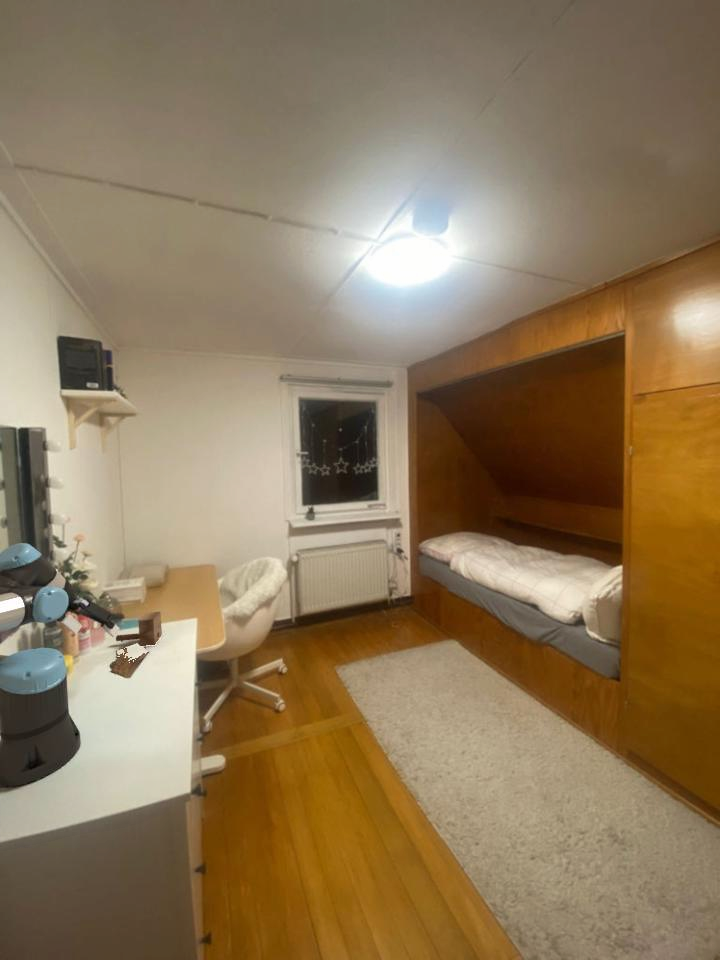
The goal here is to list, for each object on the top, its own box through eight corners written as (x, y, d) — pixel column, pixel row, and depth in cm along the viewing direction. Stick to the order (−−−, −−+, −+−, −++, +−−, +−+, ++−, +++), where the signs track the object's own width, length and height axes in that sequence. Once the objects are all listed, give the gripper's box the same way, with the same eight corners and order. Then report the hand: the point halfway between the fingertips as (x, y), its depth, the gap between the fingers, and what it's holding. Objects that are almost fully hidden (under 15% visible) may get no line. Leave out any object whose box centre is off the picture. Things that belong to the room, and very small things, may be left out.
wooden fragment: (118, 647, 139) (117, 644, 139) (152, 640, 143) (152, 638, 143) (102, 685, 115) (102, 681, 115) (144, 675, 119) (144, 672, 119)
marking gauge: (112, 650, 136) (110, 622, 135) (122, 641, 143) (120, 614, 142) (154, 646, 138) (153, 619, 137) (162, 637, 145) (160, 611, 144)
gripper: (100, 579, 103) (139, 622, 116) (26, 576, 108) (72, 617, 122) (80, 603, 98) (124, 646, 111) (3, 599, 103) (54, 640, 116)
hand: (97, 631), depth 116 cm, fingers open, 13 cm apart
